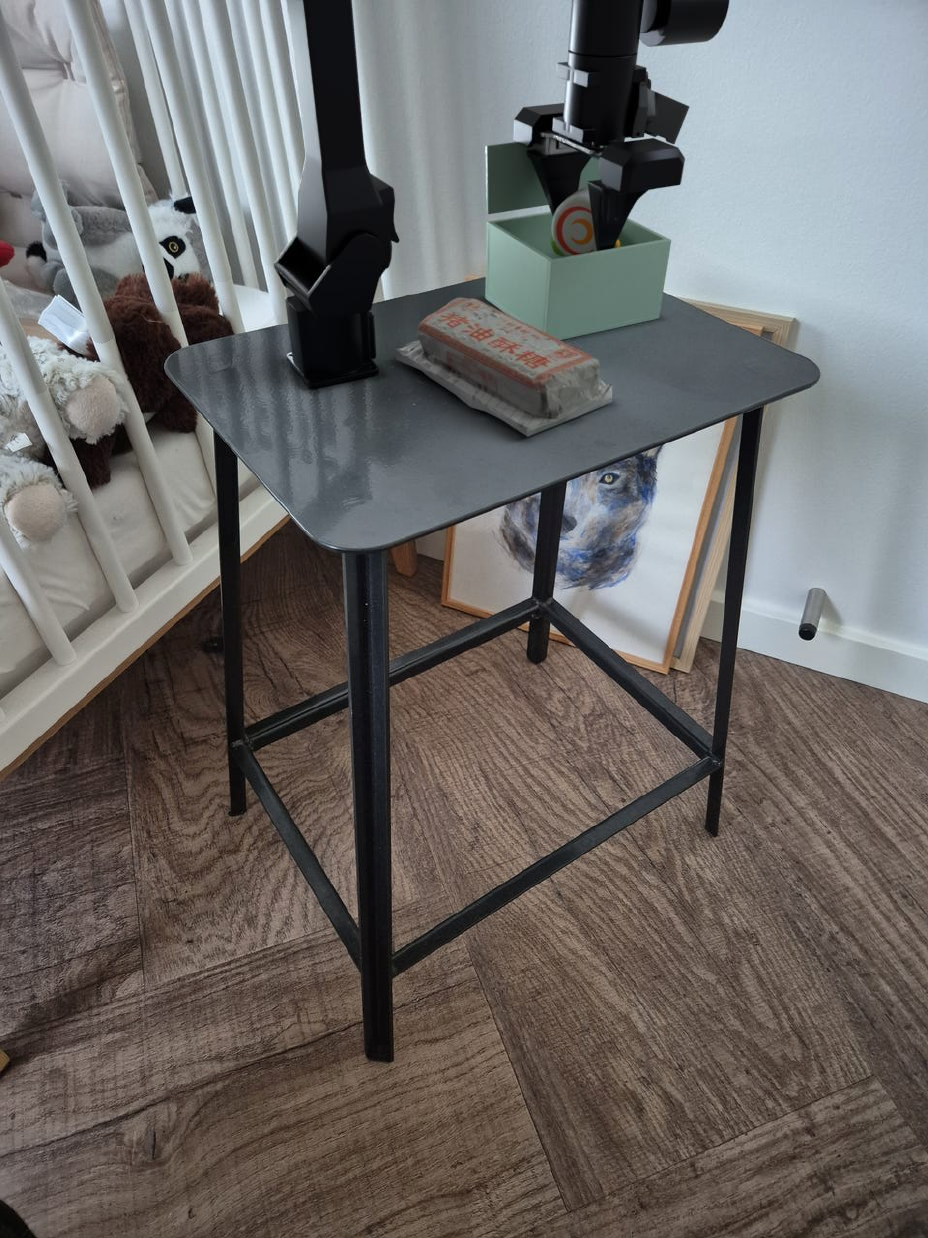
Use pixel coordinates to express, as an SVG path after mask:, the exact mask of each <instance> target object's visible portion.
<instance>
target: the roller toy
mask: <svg viewBox="0 0 928 1238" xmlns="http://www.w3.org/2000/svg"><path fill="white" fill-rule="evenodd" d="M551 246H552V249H553V251H554V252H555V253H556V254H557V255H559V256H566V257H569V256H574V255H580V254H585V253H591V252H596V251H597V249H596V244H595V237H594V229H593V222H592V214H591V206H590V199H589V191H588V187H587V188H583V189H580V190H578V191H577V192H575V193H574V194H573V195H571V196H570V197H568V198H567V199H566V200H565V201H564V202H562V203H561V204H560V206H559V207H558V208H557V209H556V211H555V213H554V216H553V219H552V238H551ZM618 247H620V242H619V240H617V242H616V244H615V246H614V248H618Z"/></svg>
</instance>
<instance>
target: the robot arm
mask: <svg viewBox="0 0 928 1238" xmlns="http://www.w3.org/2000/svg"><path fill="white" fill-rule="evenodd" d="M285 2H286V8H287V9H286V10H287V17H288V24H289V25H288V26H289V32H290V41H291V48H292V56H293V66H294V72H295V73H294V74H295V80H296V88H297V97H298V105H299V113H300V121H301V128H302V137H303V138H302V139H303V145H304V163H303V168H302V171H301V177H300V180H299V185H298V189H297V201H296V202H297V203H296V204H297V205H296V231H295V233H294V234H293V236H292V238H291V239H290V240H289V241H288V243H287V244H286V246H285V248H283V250H282V252H281V253H280V254H279V256H277V258H276V260H275V261H274V262H273V268H274V270H275V272H276V274H277V276H278V278H279V280H280V282H281V284H282V286H283V287H285V288H286V289H288V290H289V291H290V292H291V293H292V294H293V295H291V296H286V297H284V302H285V311H286V318H287V324H288V325H287V326H288V332H289V333H288V334H289V340H290V349H291V352H289V353H287V354H286V360H287V362H288V363H289V364H290V366H291V367H292V368H293V369H294V371H295V372H296V373H297V375H298V376H299V377H300V378H301V379H302V381H303V382H304V383H305V385H306V386H307V387H308V388H311V389H314V388H321V387H324V386H329V385H334V384H339V383H343V382H347V381H353V380H357V379H361V378H365V377H370V376H376V375H378V374H380V367H379V366H378V364H377V363H376V362H375V361H374V360H375V359H376V358H377V343H376V341H377V340H376V327H375V326H376V325H375V314H374V313H373V312H372V311H371V310H372V308H373V305H374V301H375V296H376V292H377V288H378V285H379V281H380V278H381V277H382V275H383V274H384V273H385V271H386V270H387V269H389V267H390V265H391V263H392V258H393V243H395V244H399V243H400V242H401V241H400V237H399V235H398V232H397V231H396V226H395V206H396V195H395V190H394V187H393V186H391V185H389V184H388V183H387V182H385V181H384V180H382V179H380V178H379V177H378V176H376V175H374V174H372V173H371V171H370V169H369V166H368V163H367V160H366V153H365V152H366V151H365V141H364V129H363V118H362V106H361V91H360V81H359V70H358V57H357V45H356V35H355V22H354V21H355V20H354V10H353V9H354V8H353V0H285ZM729 8H730V0H571V8H570V21H569V23H570V24H569V32H568V33H569V35H568V47H567V48H568V49H567V61H561V62H556V73H555V77H557V78H559V79H562V80H565V88H564V101H563V102H560V103H559V102H557V103H550V104H539V105H532V106H523V107H522V108H521V109H520V111H518V113H517V115H516V116H515V117H514V119H513V139H512V141H513V142H518V143H519V144H521V145H523V146H525V147H532V146H533V145H534V149H533V150H528V151H527V157H528V158H530V160H531V162H532V164H533V166H534V169H535V171H536V174H537V176H538V179H539V181H540V184H541V186H542V189H543V191H544V194H545V197H546V199H547V202H548V205H547V206H548V207H549V211H550V212H551V213H552V216H554V213H555V211H556V209H557V208H558V207H559V206H560V204H561V203H562V202H564V201H565V200H566V199H567V198H568V197H570V196H571V195H573V194H574V193H575V192H577V191H578V189H579V183H580V177H581V173H582V171H583V169H584V168H585V166H586V165H587V163H588V162H589V160H590V159H591V158H592V157H593V158H595V159H597V160H599V167H598V172H599V175H600V178H601V179H599V180H592V181H588V191H589V199H590V206H591V214H592V222H593V229H594V237H595V244H596V249H597V251H602V250H607V249H613V248H614V246H615V244H616V242H617V240H618V238H619V235H620V233H621V231H622V229H623V227H624V225H625V223H626V220H627V218H629V217H630V214H631V212H632V211H633V209H634V207H635V206H636V204H637V203H638V200H639V199H640V198H641V197H643V196H644V195H645V194H646V193H647V192H648V191H650V190H651V191H652V190H657V189H663V188H669V187H670V188H671V187H676V186H680V185H681V184H682V180H683V174H684V170H685V169H684V167H685V161H686V157H685V156H684V154H683V153H682V151H681V150H680V148H679V146H675V144H676V142H677V139H678V137H679V135H680V132H681V129H682V127H683V125H684V122H685V120H686V117H687V115H688V112H689V110H690V105H687V104H685V103H683V102H681V101H678V100H676V99H674V98H672V97H669V96H668V95H664V94H662V93H660V92H658V91H655V90H653V89H652V80H651V78H649V73H648V71H647V69H648V68H647V67H646V66H642V65H639V64H637V63H638V53H639V45H640V42H641V43H643V45H644V46H646V47H650V48H651V47H664V46H665V47H666V46H674V45H686V44H687V45H688V44H696V43H697V44H698V43H706V42H710V41H711V40H713V39H715V37H716V36H717V35H718V33H720V30H721V29H722V27H723V25H724V23H725V21H726V19H727V15H728V11H729ZM645 134H646V135H647V136H650V138H645ZM657 137H659V138H663V139H665V141H663V140H660V139H657ZM628 138H630V139H633V140H626V139H628ZM641 138H643V139H641ZM634 139H635V140H634ZM600 146H603V148H601V147H600Z"/></svg>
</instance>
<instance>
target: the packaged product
mask: <svg viewBox="0 0 928 1238" xmlns="http://www.w3.org/2000/svg"><path fill="white" fill-rule="evenodd" d="M417 337H418V339H417V340H413V341H411V342H407V343H405V344H404V345H403V347H402V348H395V347H394V348H393V350H394V353H395V359H396V360H397V361H398V362H401V363H403V364H405V365H408V366H410V367H413V368H415V369H417V370H419V371H421V372H422V373H424V374H425V375H426V376H427V377H429V378H430V379H431V380H433V381H434V382H436V383H437V384H438V385H441V386H442V387H444V388H445V389H447V390H448V391H449V392H451V393H453V394H454V395H455V396H456V397H458V398H459V399H460V400H461V401H462V402H463V403H465V404H466V405H467V406H468V407H469V408H472V409H476V410H479V411H483V412H486V413H488V414H490V415H492V416H494V417H495V418H497V419H499V420H501V421H503V422H505V423H506V424H508V425H509V426H510V427H512V428H513V429H515V430H517V431H518V432H520V433H522V434H523V435H524V436H526V437H527V438H528V437H530V436H532V435H536V434H537V433H540V432H542V431H545V430H548V429H551V428H553V427H556V426H558V425H560V424H563V423H565V422H568V421H570V420H573V419H575V418H577V417H580V416H582V415H586V414H588V413H589V412H592V411H594V410H597V409H600V408H601V407H604V406H606V405H609V404H611V403H613V384H608V383H607V384H606V383H605V381H603V380H602V379H600V375H601V373H602V369H601V362H600V360H598V359H597V358H596V357H593V356H591V355H590V354H587V353H586V352H585V351H582V350H581V349H578V348H576V347H575V346H572V345H571V344H568V343H566V342H565V341H563V340H558V339H556V338H554V337H552V336H550V335H548V334H546V333H544V332H542V331H540V330H538V329H536V328H534V327H532V326H530V325H528V324H526V323H524V322H521V321H520V320H518V319H515V318H513V317H512V316H510V315H507V314H506V313H504V312H503V311H502V310H500V309H499V310H498V309H497V308H495V307H493V306H491V305H489V304H488V303H485V302H483V301H481V300H479V299H476V298H474V297H473V298H465V297H456V298H454V299H452V300H450V301H449V302H448V303H447V304H445V305H444V306H442V307H440V308H439V309H437V310H436V311H434V312H432V313H430V314H428V315H427V316H426V317H425V318H424V319H422V320H421V321H420V322H419V323H418V326H417Z"/></svg>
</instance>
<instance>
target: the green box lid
mask: <svg viewBox="0 0 928 1238" xmlns="http://www.w3.org/2000/svg"><path fill="white" fill-rule="evenodd" d="M600 147H601V148H603V146H600ZM533 149H534V145H533V146H532V147H525V146H523V145H521V144H519V143H518V142H514V141H513V142H512V141H511V142H505V143H503V142H502V143H497V144H495V143H494V144H489V145H485V195H486V196H485V198H486V199H485V200H486V203H485V204H486V207H485V209H486V214H487V215H493V214H500V213H506V212H512V211H513V212H514V211H519V210H525V209H531V208H538V207H544V206H549V205H548V202H547V199H546V197H545V194H544V191H543V189H542V186H541V184H540V181H539V179H538V176H537V174H536V171H535V169H534V166H533V164H532V162H531V160H530V158H528V157H527V151H528V150H533ZM598 167H599V160H597V159H595V158H593V157H592V158H591V159H590V160H589V162H588V163H587V165H586V166H585V168H584V169H583V171H582V173H581V177H580V183H579V189H578V190H580V189H583V188H587V187H588V181H592V180H599V179H601V178H600V175H599V172H598Z"/></svg>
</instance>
